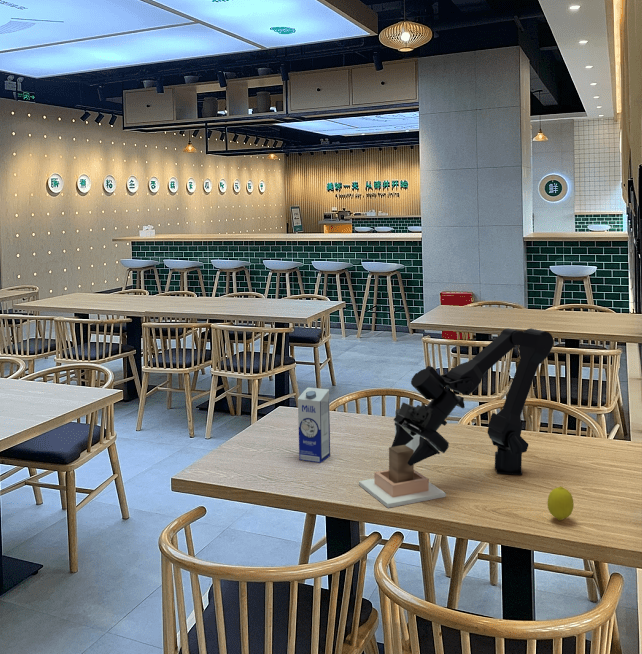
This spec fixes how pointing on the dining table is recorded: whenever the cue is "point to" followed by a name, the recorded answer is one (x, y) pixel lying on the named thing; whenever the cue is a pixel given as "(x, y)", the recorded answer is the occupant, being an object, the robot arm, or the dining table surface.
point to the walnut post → (400, 464)
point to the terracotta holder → (400, 489)
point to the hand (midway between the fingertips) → (399, 458)
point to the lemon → (560, 503)
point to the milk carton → (314, 425)
